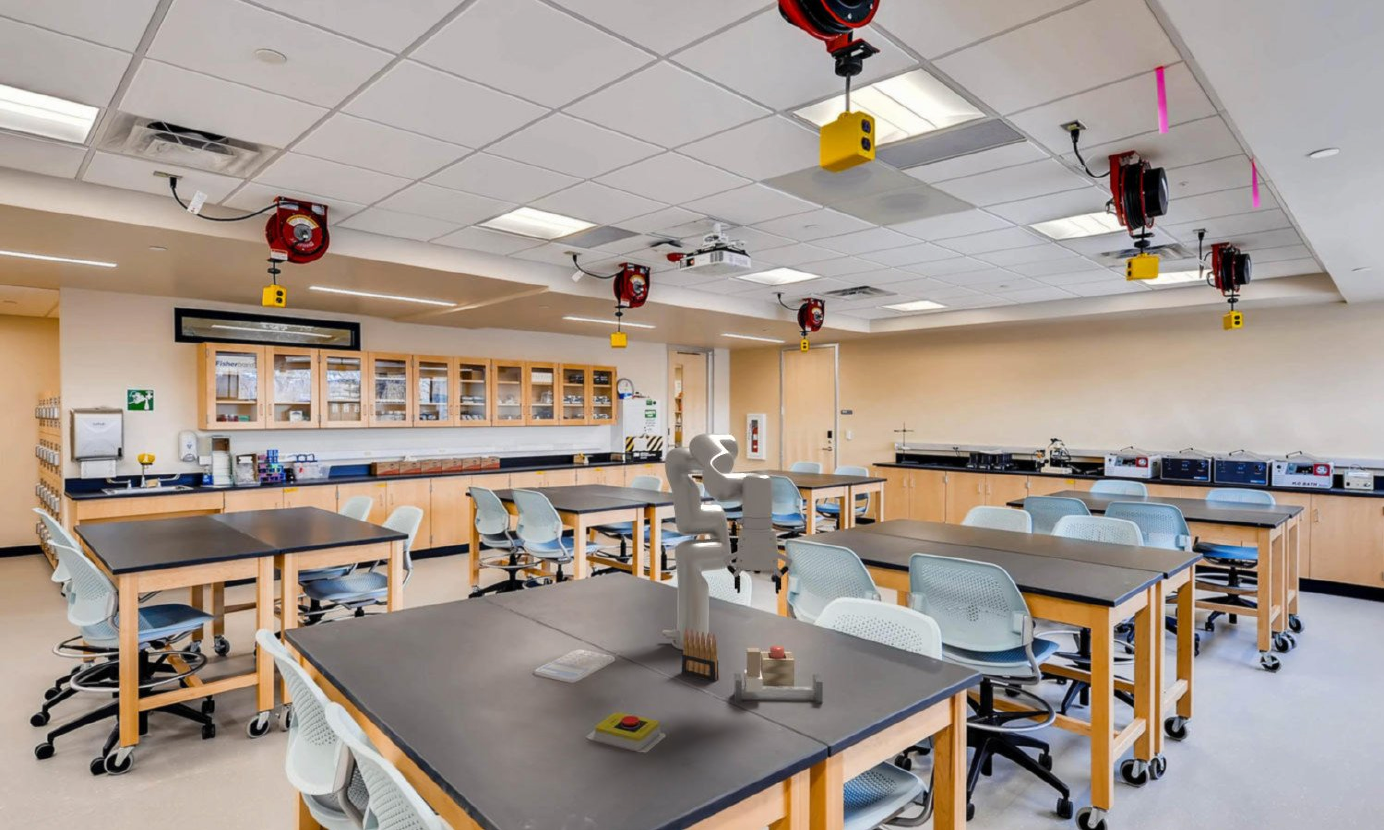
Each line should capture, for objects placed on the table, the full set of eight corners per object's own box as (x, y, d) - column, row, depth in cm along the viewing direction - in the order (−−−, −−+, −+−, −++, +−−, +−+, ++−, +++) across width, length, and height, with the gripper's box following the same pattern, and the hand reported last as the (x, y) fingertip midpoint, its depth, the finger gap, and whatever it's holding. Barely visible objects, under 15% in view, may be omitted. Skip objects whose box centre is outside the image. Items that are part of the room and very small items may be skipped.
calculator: (616, 661, 194) (616, 655, 194) (573, 685, 176) (573, 677, 176) (578, 654, 200) (578, 647, 200) (532, 676, 182) (532, 668, 182)
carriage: (746, 691, 165) (746, 653, 165) (744, 681, 171) (744, 645, 171) (762, 691, 165) (762, 653, 165) (760, 682, 171) (760, 645, 171)
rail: (735, 701, 165) (735, 680, 165) (734, 693, 170) (734, 673, 170) (822, 702, 165) (822, 681, 165) (818, 694, 170) (818, 674, 170)
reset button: (770, 664, 176) (771, 650, 176) (769, 660, 180) (769, 645, 180) (785, 665, 176) (785, 650, 176) (783, 660, 180) (783, 645, 180)
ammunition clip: (718, 679, 180) (719, 633, 180) (715, 681, 178) (715, 635, 178) (685, 671, 186) (685, 626, 186) (681, 673, 184) (681, 628, 184)
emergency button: (645, 734, 139) (584, 719, 146) (645, 755, 139) (584, 740, 146) (667, 716, 147) (608, 703, 154) (667, 737, 147) (608, 723, 154)
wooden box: (762, 686, 175) (762, 659, 175) (760, 678, 181) (760, 651, 181) (794, 687, 175) (794, 659, 175) (790, 678, 181) (791, 651, 181)
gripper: (722, 525, 170) (722, 595, 170) (792, 526, 169) (793, 596, 168) (723, 521, 178) (724, 588, 177) (791, 522, 176) (791, 589, 175)
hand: (757, 592), depth 172 cm, fingers open, 9 cm apart
